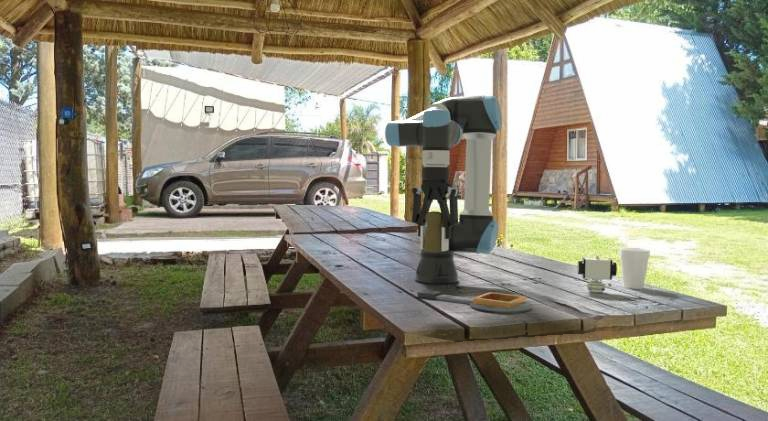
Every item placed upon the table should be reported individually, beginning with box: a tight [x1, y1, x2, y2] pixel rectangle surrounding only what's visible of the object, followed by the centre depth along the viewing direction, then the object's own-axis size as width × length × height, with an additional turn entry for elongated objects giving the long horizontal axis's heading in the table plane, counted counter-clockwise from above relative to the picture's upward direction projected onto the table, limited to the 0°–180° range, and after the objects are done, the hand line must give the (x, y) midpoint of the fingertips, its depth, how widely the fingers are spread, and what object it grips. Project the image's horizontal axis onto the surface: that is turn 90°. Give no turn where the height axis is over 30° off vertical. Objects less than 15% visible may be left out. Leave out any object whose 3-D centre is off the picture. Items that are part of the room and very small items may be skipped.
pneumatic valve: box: [576, 255, 618, 294], centre depth 205 cm, size 6×12×12 cm, turn 78°
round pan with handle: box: [416, 289, 531, 315], centre depth 184 cm, size 34×17×3 cm, turn 56°
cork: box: [423, 210, 445, 252], centre depth 175 cm, size 6×6×11 cm
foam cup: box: [619, 247, 651, 290], centre depth 214 cm, size 10×9×13 cm
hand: (434, 249), depth 175 cm, fingers closed on cork, 6 cm apart
